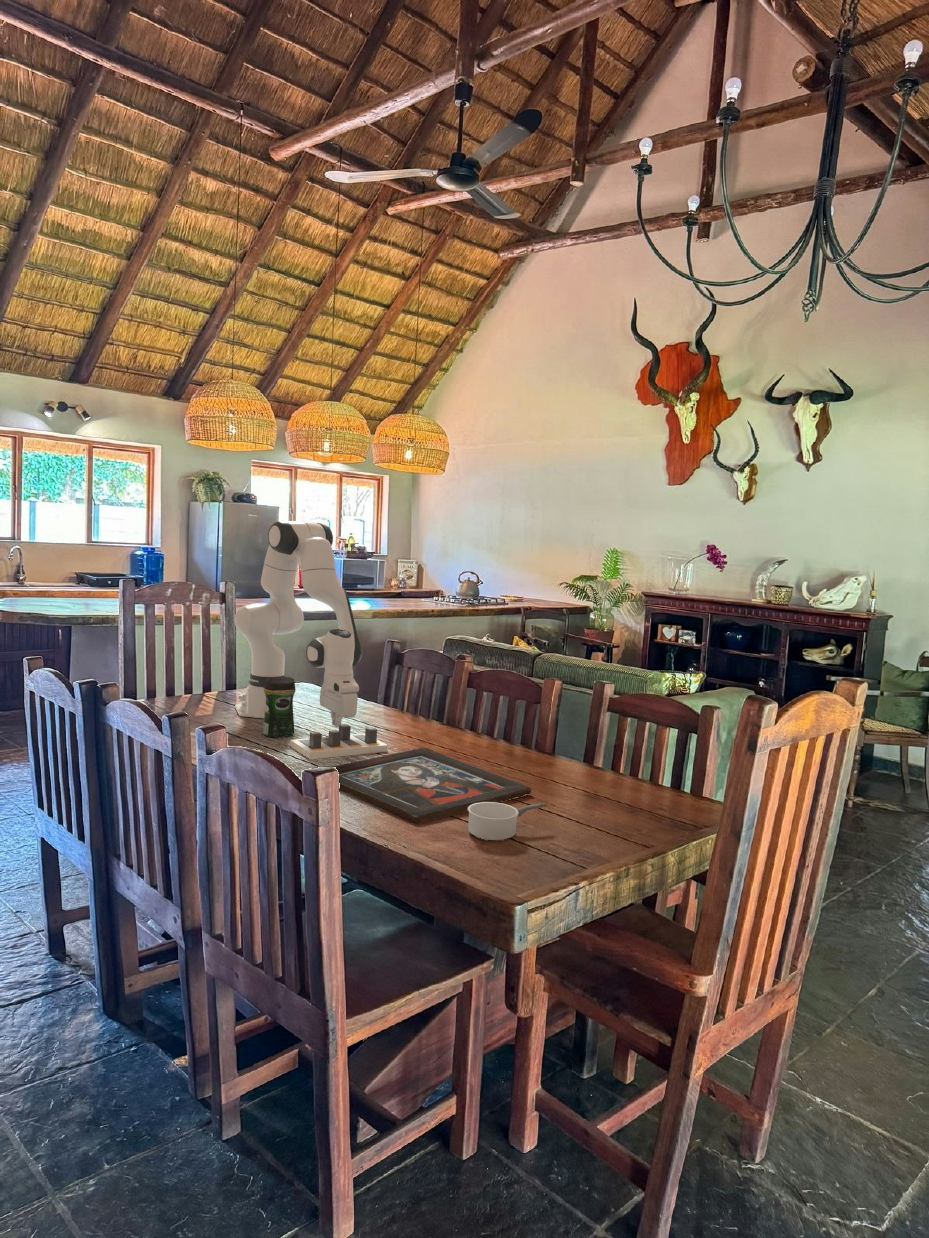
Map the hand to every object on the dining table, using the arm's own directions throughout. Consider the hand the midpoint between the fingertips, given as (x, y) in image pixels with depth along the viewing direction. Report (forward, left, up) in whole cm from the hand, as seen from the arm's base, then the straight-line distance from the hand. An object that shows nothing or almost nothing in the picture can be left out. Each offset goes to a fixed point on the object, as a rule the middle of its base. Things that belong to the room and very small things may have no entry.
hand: (336, 725), depth 253 cm
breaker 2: (+12, -6, -2) cm, 14 cm away
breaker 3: (+6, 0, -2) cm, 7 cm away
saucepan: (+86, +4, -5) cm, 87 cm away
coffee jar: (-13, -14, -5) cm, 20 cm away
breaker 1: (+12, -12, -2) cm, 17 cm away
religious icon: (+49, +2, -6) cm, 50 cm away
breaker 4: (+12, +6, -2) cm, 14 cm away
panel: (+9, -3, -5) cm, 11 cm away
